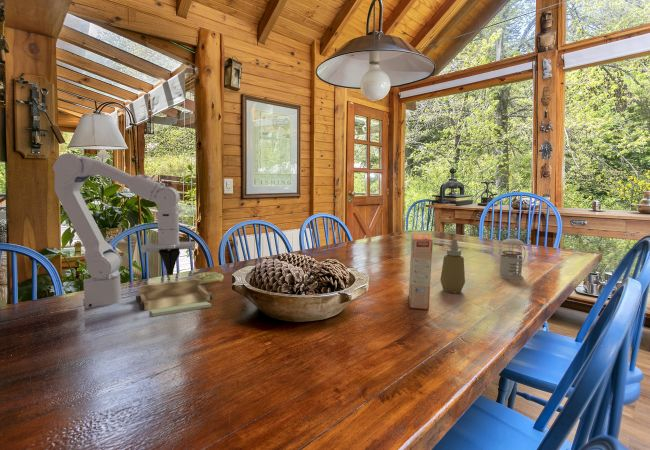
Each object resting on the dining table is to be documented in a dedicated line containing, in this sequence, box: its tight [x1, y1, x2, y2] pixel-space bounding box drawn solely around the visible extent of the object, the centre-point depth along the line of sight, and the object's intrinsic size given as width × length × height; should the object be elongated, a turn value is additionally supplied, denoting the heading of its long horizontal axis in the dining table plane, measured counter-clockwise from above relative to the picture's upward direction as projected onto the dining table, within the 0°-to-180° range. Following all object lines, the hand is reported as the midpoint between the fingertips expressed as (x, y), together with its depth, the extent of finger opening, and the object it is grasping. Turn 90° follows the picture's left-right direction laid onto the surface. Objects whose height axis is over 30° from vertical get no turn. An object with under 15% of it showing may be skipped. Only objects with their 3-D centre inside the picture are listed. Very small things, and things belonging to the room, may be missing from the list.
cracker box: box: [408, 232, 434, 310], centre depth 118 cm, size 14×6×21 cm, turn 168°
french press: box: [496, 213, 526, 280], centre depth 153 cm, size 10×12×25 cm
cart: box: [135, 278, 213, 312], centre depth 114 cm, size 20×12×6 cm, turn 122°
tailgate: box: [149, 301, 212, 317], centre depth 107 cm, size 15×1×6 cm
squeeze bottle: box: [439, 238, 466, 294], centre depth 131 cm, size 8×8×18 cm
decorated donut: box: [192, 271, 225, 285], centre depth 137 cm, size 10×11×4 cm
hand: (169, 274), depth 114 cm, fingers closed
